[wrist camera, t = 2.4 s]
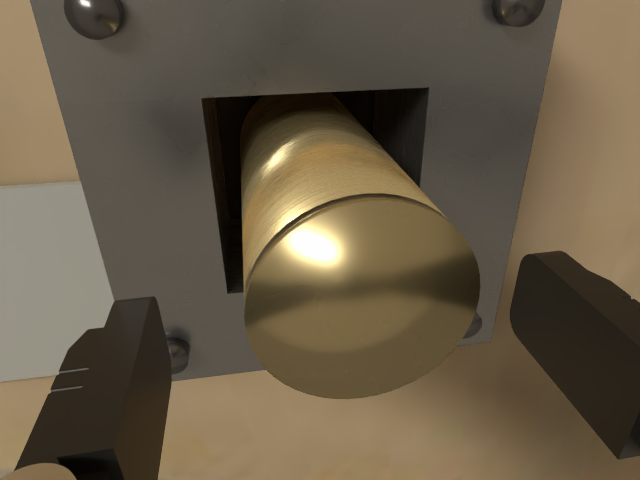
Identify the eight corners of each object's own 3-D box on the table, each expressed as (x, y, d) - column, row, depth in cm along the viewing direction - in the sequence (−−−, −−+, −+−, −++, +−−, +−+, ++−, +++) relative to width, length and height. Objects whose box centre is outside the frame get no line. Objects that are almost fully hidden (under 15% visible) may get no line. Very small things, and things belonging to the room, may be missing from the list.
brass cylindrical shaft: (356, 81, 19) (499, 191, 9) (353, 192, 22) (463, 383, 11) (233, 86, 19) (231, 213, 8) (245, 201, 21) (254, 412, 11)
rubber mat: (135, 177, 20) (133, 180, 19) (174, 355, 24) (173, 361, 24) (-129, 194, 18) (-136, 198, 18) (-33, 380, 23) (-37, 385, 23)
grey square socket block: (475, -48, 18) (590, -65, 12) (435, 265, 24) (497, 351, 19) (86, -45, 16) (1, -63, 10) (160, 293, 22) (135, 397, 17)
